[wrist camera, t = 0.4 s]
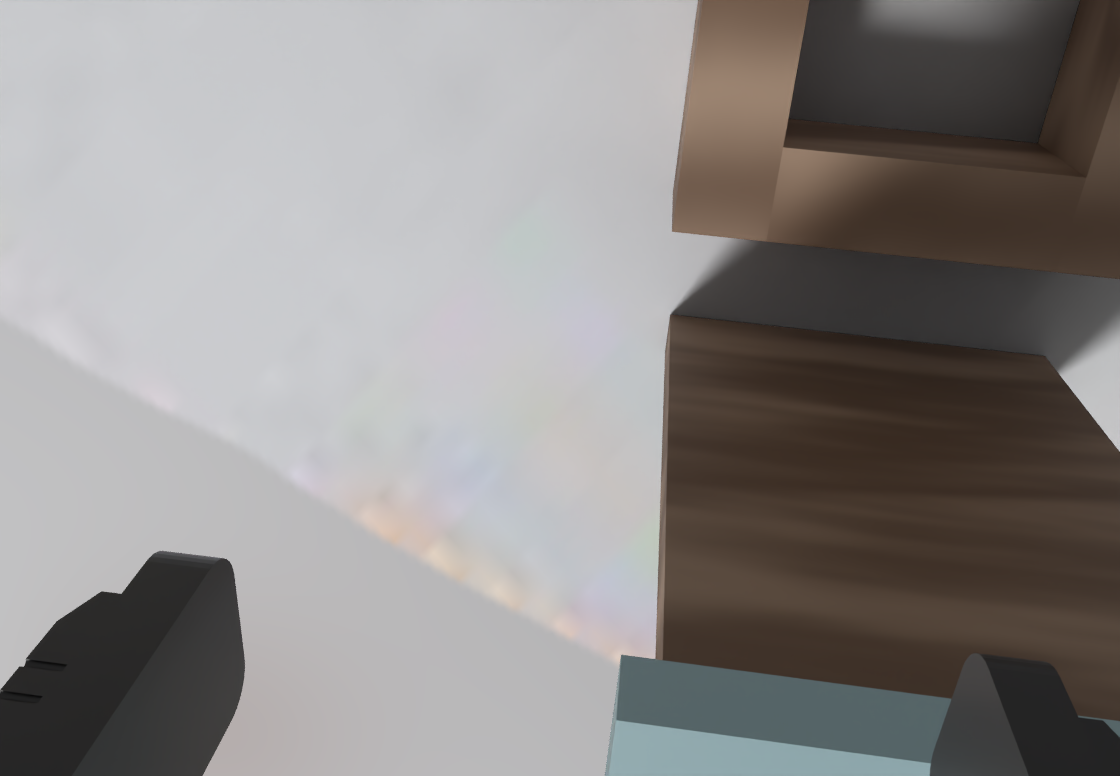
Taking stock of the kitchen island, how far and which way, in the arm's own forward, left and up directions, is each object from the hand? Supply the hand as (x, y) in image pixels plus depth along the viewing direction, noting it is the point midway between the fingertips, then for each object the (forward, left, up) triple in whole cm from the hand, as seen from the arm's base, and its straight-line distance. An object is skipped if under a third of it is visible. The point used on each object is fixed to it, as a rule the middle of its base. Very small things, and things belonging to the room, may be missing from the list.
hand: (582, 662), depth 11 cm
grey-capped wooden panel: (+8, +9, -27) cm, 29 cm away
